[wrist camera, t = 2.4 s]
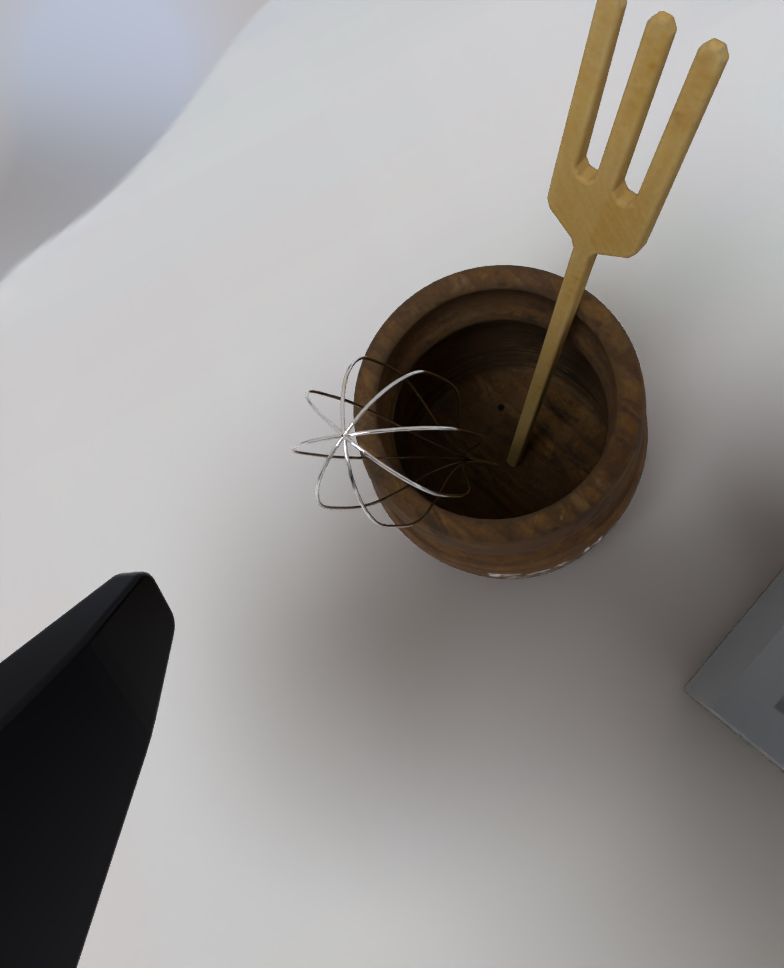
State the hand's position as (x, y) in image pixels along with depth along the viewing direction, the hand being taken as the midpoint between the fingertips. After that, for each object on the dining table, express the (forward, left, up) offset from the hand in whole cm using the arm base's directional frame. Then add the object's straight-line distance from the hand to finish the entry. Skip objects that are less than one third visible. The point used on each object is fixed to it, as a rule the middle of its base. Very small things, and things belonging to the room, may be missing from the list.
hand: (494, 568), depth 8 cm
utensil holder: (+3, -1, -10) cm, 11 cm away
